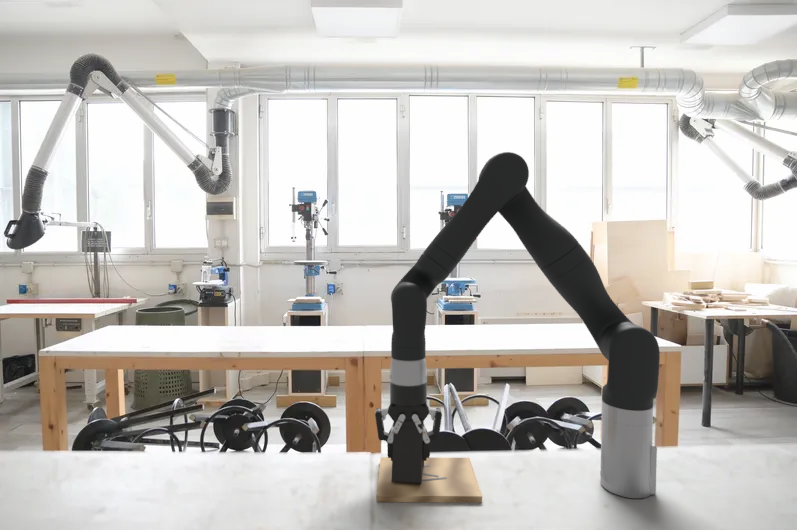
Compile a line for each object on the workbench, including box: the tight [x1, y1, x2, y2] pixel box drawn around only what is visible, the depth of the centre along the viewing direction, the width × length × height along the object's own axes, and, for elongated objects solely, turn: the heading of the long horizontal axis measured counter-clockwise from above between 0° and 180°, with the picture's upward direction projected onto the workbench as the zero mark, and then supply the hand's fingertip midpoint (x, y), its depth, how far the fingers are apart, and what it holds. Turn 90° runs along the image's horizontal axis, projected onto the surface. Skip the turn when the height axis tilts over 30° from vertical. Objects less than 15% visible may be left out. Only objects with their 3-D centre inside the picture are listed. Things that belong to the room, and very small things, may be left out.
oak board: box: [376, 456, 483, 504], centre depth 95 cm, size 20×16×1 cm
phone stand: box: [391, 419, 425, 484], centre depth 95 cm, size 9×6×12 cm, turn 173°
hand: (408, 458), depth 95 cm, fingers closed on phone stand, 6 cm apart
